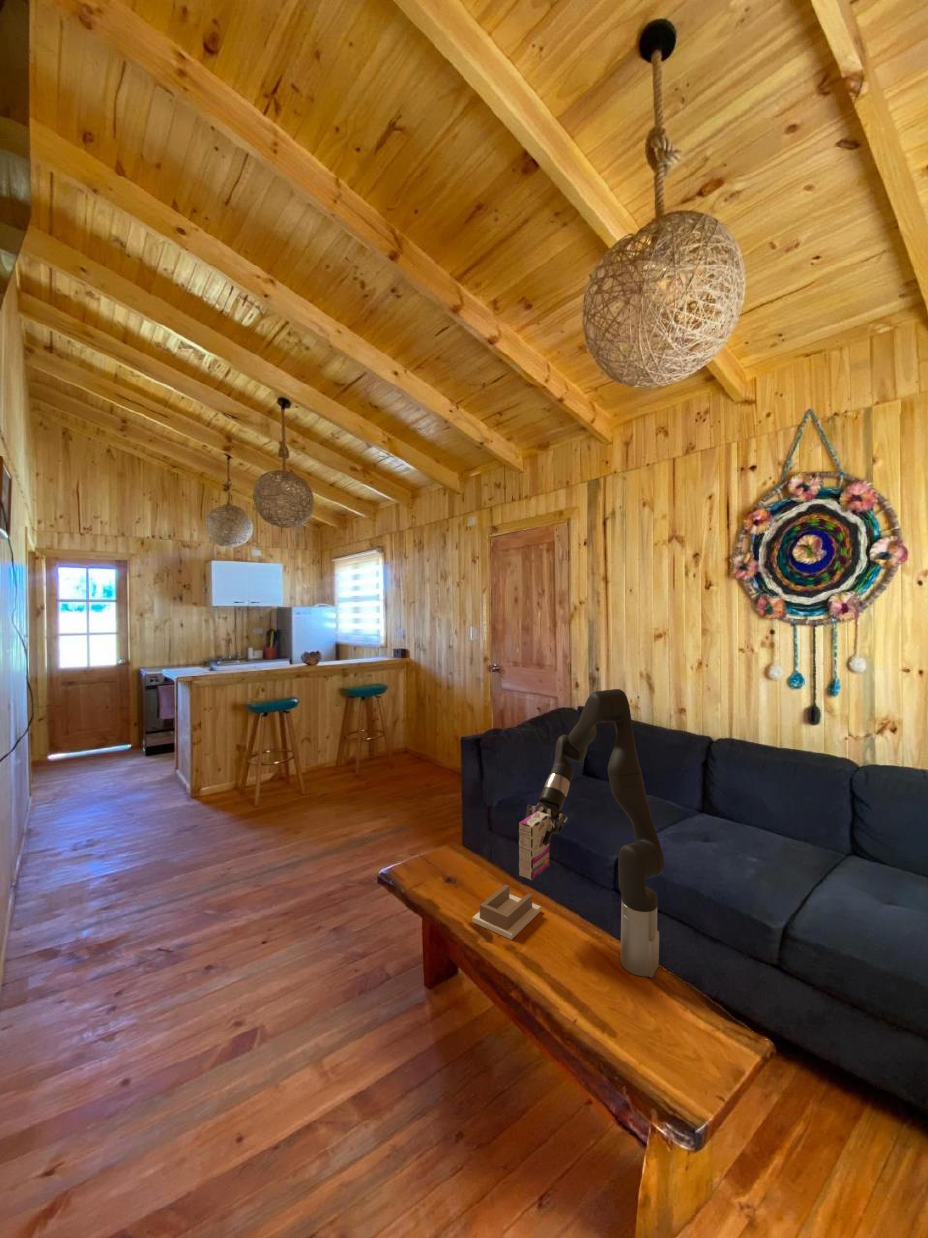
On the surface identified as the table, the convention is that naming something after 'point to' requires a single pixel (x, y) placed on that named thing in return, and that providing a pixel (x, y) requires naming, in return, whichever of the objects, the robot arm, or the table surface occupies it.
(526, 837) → the candy bar box
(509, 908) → the slot stand
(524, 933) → the table surface
